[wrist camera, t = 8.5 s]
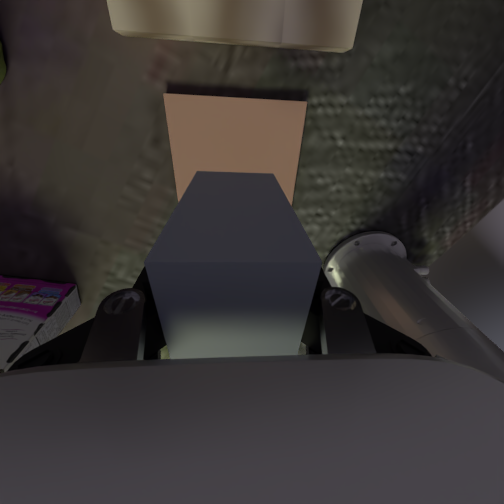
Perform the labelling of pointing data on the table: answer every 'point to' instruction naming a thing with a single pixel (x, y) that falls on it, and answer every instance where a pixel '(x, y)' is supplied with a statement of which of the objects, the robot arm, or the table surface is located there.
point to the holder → (242, 22)
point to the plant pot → (2, 64)
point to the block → (233, 269)
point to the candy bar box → (32, 314)
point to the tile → (234, 137)
